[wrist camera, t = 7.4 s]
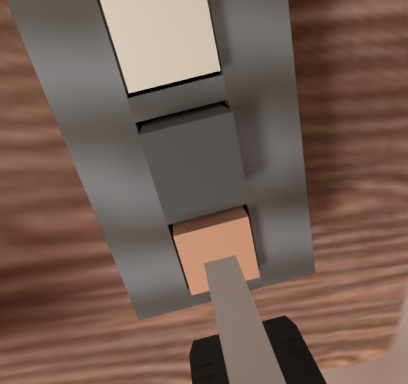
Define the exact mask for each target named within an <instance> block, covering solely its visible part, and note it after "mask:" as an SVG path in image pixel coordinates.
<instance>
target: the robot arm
mask: <svg viewBox="0 0 408 384" xmlns="http://www.w3.org/2000/svg"><path fill="white" fill-rule="evenodd" d="M204 267H205V272H206V276H207V281H208V286H209V290H210V295H211V300H212V304H213V309H214V313H215V318H216V323H217V327H218V332H219V334H217V335H213V336H210V337H206V338H202V339H199V340H195V341H193V344H192V348H191V351H190V354H189V356H190V366H191V376H192V384H326V382H325V380H324V378H323V376H322V374H321V372H320V370H319V368H318V366H317V364H316V362H315V360H314V359H313V357H312V355H311V353H310V351H309V350H308V347H307V345H306V343H305V341H304V340H303V338H302V336H301V334H300V332H299V330H298V328H297V326H296V324H294V323H293V322H292V321H291V320H290V319H289V318H287V317H286V316H281V317H277V318H274V319H270V320H266V321H261V319H260V316H259V313H258V311H257V308H256V306H255V303H254V301H253V298H252V296H251V293H250V291H249V288H248V286H247V283H246V280H245V278H244V275H243V273H242V270H241V268H240V265H239V263H238V260H237V258H236V255H234V256H230V257H226V258H222V259H218V260H214V261H210V262H207V263H204Z"/></svg>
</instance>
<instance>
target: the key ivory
mask: <svg viewBox="0 0 408 384" xmlns="http://www.w3.org/2000/svg"><path fill="white" fill-rule="evenodd" d="M100 2H101V5H102V9H103V12H104V15H105V18H106V21H107V25H108V28H109V31H110V34H111V37H112V41H113V44H114V47H115V50H116V54H117V57H118V60H119V63H120V66H121V70H122V73H123V76H124V79H125V83H126V86H127V89H128V92H129V93H133V92H137V91H141V90H145V89H149V88H153V87H157V86H161V85H165V84H169V83H173V82H177V81H181V80H185V79H189V78H193V77H197V76H201V75H205V74H209V73H213V72H217V71H221V70H220V65H219V60H218V55H217V49H216V44H215V39H214V34H213V28H212V23H211V18H210V13H209V7H208V2H207V0H100Z"/></svg>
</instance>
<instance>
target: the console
mask: <svg viewBox="0 0 408 384" xmlns="http://www.w3.org/2000/svg"><path fill="white" fill-rule="evenodd" d="M6 1H7V4H8V6H9V9H10V11H11V13H12V16H13V18H14V21H15V23H16V25H17V28H18V30H19V33H20V35H21V37H22V40H23V42H24V45H25V47H26V49H27V52H28V54H29V57H30V59H31V61H32V64H33V66H34V69H35V71H36V73H37V76H38V78H39V81H40V83H41V85H42V88H43V90H44V93H45V95H46V97H47V100H48V102H49V105H50V107H51V109H52V112H53V114H54V117H55V119H56V121H57V124H58V126H59V129H60V131H61V133H62V136H63V138H64V141H65V143H66V145H67V148H68V150H69V153H70V155H71V157H72V160H73V162H74V165H75V167H76V169H77V172H78V174H79V177H80V179H81V181H82V184H83V186H84V189H85V191H86V193H87V196H88V198H89V201H90V203H91V205H92V208H93V210H94V213H95V215H96V217H97V220H98V222H99V225H100V227H101V229H102V232H103V234H104V237H105V239H106V241H107V244H108V246H109V249H110V251H111V253H112V256H113V258H114V261H115V263H116V265H117V268H118V270H119V273H120V275H121V277H122V280H123V282H124V285H125V287H126V289H127V292H128V294H129V297H130V299H131V301H132V304H133V306H134V309H135V311H136V313H137V316H138V318H139V320H143V319H147V318H150V317H154V316H158V315H161V314H165V313H169V312H173V311H176V310H180V309H184V308H187V307H191V306H195V305H198V304H202V303H206V302H209V301H212V300H211V295H210V291H207V292H203V293H199V294H196V295H191V292H190V288H189V285H188V282H187V279H186V276H185V272H184V269H183V266H182V263H181V259H180V256H179V253H178V251H177V249H176V245H175V242H174V239H173V236H172V232H171V229H170V226H169V224H173V223H177V222H181V221H184V220H188V219H192V218H196V217H200V216H203V215H207V214H211V213H215V212H219V211H222V210H226V209H230V208H234V207H238V206H241V205H245V207H246V212H247V215H248V218H249V223H250V228H251V233H252V239H253V244H254V249H255V254H256V260H257V265H258V270H259V275H260V277H258V278H255V279H251V280H247V281H246V283H247V286H248V288H249V291H250V290H254V289H257V288H261V287H265V286H268V285H272V284H276V283H279V282H283V281H287V280H290V279H294V278H298V277H302V276H305V275H309V274H313V273H315V267H314V257H313V247H312V237H311V227H310V217H309V206H308V196H307V186H306V176H305V166H304V156H303V146H302V136H301V126H300V116H299V106H298V95H297V85H296V75H295V65H294V55H293V45H292V35H291V25H290V15H289V5H288V0H207V2H208V7H209V13H210V18H211V23H212V28H213V34H214V39H215V44H216V49H217V55H218V60H219V65H220V70H221V71H220V75H216V76H212V77H208V78H204V79H200V80H196V81H192V82H188V83H184V84H179V85H175V86H171V87H167V88H163V89H159V90H155V91H151V92H147V93H143V94H139V95H135V96H131V97H129V95H128V91H127V88H126V85H125V82H124V79H123V75H122V72H121V69H120V66H119V63H118V59H117V56H116V53H115V50H114V47H113V43H112V40H111V37H110V34H109V31H108V27H107V24H106V21H105V18H104V14H103V11H102V8H101V5H100V2H99V0H6ZM224 100H225V103H226V108H228V109H230V110H231V111H233V115H234V121H235V126H236V131H237V137H238V142H239V148H240V153H241V159H242V164H243V169H244V175H245V180H246V186H247V191H248V197H247V198H243V199H240V200H236V201H232V202H228V203H224V204H221V205H217V206H213V207H209V208H205V209H201V210H198V211H194V212H190V213H186V214H182V215H179V216H175V217H171V218H167V219H165V217H164V214H163V211H162V208H161V205H160V201H159V198H158V195H157V192H156V189H155V186H154V182H153V179H152V176H151V173H150V170H149V167H148V163H147V160H146V157H145V154H144V151H143V148H142V144H141V141H140V138H139V133H140V130H139V127H138V123H137V122H141V121H145V120H149V119H152V118H156V117H160V116H164V115H168V114H172V113H176V112H180V111H184V110H188V109H192V108H196V107H200V106H204V105H208V104H212V103H216V102H220V101H224Z"/></svg>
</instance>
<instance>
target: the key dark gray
mask: <svg viewBox="0 0 408 384" xmlns="http://www.w3.org/2000/svg"><path fill="white" fill-rule="evenodd" d="M139 138H140V141H141V144H142V148H143V151H144V154H145V157H146V160H147V163H148V167H149V170H150V173H151V176H152V179H153V182H154V186H155V189H156V192H157V195H158V198H159V201H160V205H161V208H162V211H163V214H164V217H165V219H167V218H171V217H175V216H179V215H182V214H186V213H190V212H194V211H198V210H201V209H205V208H209V207H213V206H217V205H221V204H224V203H228V202H232V201H236V200H240V199H243V198H247V197H248V191H247V186H246V180H245V175H244V169H243V164H242V159H241V153H240V148H239V142H238V137H237V131H236V126H235V121H234V115H233V111H231V110H230V109H228V108H226V107H225V106H223V105H222V104H220V103H218V104H214V105H210V106H207V107H203V108H199V109H195V110H191V111H187V112H183V113H179V114H175V115H171V116H167V117H163V118H159V119H155V120H151V121H147V122H143V124H142V127H141V130H140V133H139Z"/></svg>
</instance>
